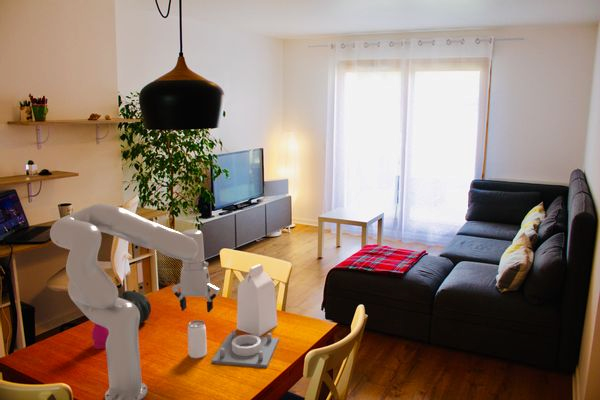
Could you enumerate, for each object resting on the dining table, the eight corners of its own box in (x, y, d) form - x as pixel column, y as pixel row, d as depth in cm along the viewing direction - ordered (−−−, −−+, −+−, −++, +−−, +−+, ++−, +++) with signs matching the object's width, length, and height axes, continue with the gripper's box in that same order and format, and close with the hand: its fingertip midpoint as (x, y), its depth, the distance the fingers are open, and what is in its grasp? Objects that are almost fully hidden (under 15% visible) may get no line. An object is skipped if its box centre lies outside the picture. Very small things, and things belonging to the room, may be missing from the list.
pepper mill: (106, 350, 186) (101, 300, 182) (88, 348, 188) (83, 298, 184) (117, 341, 193) (112, 292, 189) (100, 339, 195) (95, 291, 191)
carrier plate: (267, 367, 174) (266, 357, 173) (211, 362, 177) (211, 352, 177) (278, 340, 193) (278, 330, 193) (228, 336, 197) (228, 327, 196)
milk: (259, 336, 197) (257, 273, 192) (236, 329, 203) (235, 267, 198) (277, 325, 207) (276, 264, 201) (255, 318, 213) (254, 259, 208)
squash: (163, 305, 213) (139, 278, 213) (144, 321, 199) (119, 293, 199) (142, 323, 218) (120, 297, 218) (122, 340, 204) (98, 312, 204)
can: (185, 356, 182) (183, 325, 180) (196, 348, 188) (195, 318, 185) (199, 360, 179) (197, 329, 177) (210, 352, 185) (209, 322, 182)
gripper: (220, 262, 179) (223, 306, 182) (174, 260, 182) (178, 304, 185) (213, 269, 172) (216, 315, 175) (166, 267, 174) (169, 313, 178)
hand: (196, 309), depth 180 cm, fingers open, 9 cm apart
